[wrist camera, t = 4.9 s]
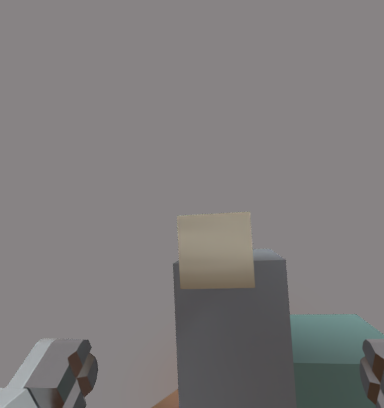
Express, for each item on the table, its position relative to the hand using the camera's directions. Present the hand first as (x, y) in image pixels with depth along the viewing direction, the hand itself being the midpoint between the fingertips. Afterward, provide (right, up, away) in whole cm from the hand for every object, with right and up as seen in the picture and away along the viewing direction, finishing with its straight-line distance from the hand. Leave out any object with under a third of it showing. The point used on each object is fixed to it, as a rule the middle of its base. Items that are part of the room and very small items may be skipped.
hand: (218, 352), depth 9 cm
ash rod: (+2, +1, +11) cm, 11 cm away
